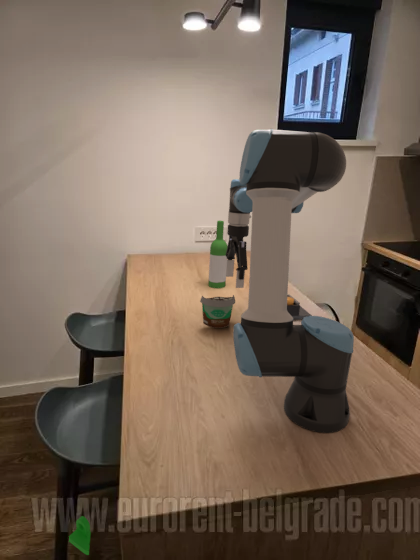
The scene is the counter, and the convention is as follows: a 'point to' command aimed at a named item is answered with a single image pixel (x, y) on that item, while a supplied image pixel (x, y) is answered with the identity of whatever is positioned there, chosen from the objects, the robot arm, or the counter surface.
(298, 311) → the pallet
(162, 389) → the counter surface
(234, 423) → the counter surface
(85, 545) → the mechanical part
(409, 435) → the counter surface
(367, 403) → the counter surface
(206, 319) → the food container
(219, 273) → the wine bottle
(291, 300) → the button
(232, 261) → the robot arm
